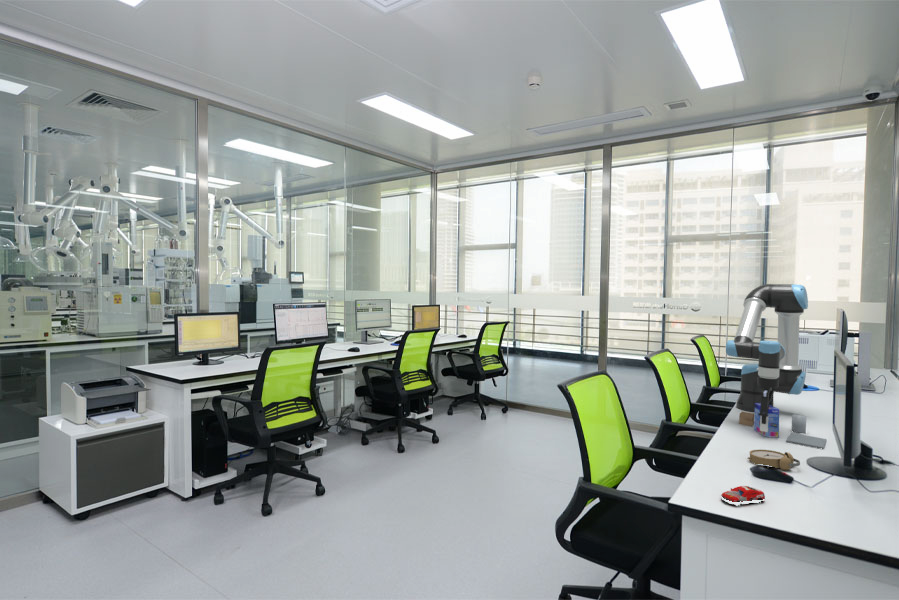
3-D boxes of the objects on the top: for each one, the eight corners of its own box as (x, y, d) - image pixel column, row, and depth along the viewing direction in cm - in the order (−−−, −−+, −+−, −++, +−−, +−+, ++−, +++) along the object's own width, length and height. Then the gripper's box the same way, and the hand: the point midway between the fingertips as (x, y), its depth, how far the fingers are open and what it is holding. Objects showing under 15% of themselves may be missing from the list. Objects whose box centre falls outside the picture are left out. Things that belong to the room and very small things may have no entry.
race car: (731, 508, 135) (732, 494, 135) (716, 500, 141) (717, 486, 141) (768, 503, 139) (769, 490, 139) (752, 495, 144) (753, 482, 144)
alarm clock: (752, 447, 178) (800, 450, 168) (754, 461, 178) (803, 464, 168) (745, 455, 170) (796, 458, 160) (747, 469, 170) (798, 473, 159)
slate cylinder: (792, 429, 211) (792, 413, 211) (806, 431, 208) (806, 416, 208) (790, 431, 208) (791, 416, 208) (804, 434, 204) (805, 418, 204)
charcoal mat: (790, 434, 204) (790, 432, 204) (826, 441, 196) (826, 439, 196) (786, 442, 194) (786, 440, 194) (823, 449, 186) (823, 447, 186)
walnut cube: (741, 422, 222) (741, 411, 222) (754, 424, 219) (754, 413, 218) (739, 424, 218) (739, 413, 218) (751, 426, 215) (752, 415, 215)
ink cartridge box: (752, 430, 209) (754, 397, 209) (766, 430, 209) (767, 397, 208) (765, 437, 200) (766, 403, 199) (779, 437, 199) (780, 403, 198)
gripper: (762, 372, 214) (760, 421, 215) (752, 379, 197) (750, 432, 198) (782, 374, 209) (780, 424, 210) (774, 382, 192) (772, 436, 193)
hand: (766, 428), depth 204 cm, fingers closed on ink cartridge box, 10 cm apart
